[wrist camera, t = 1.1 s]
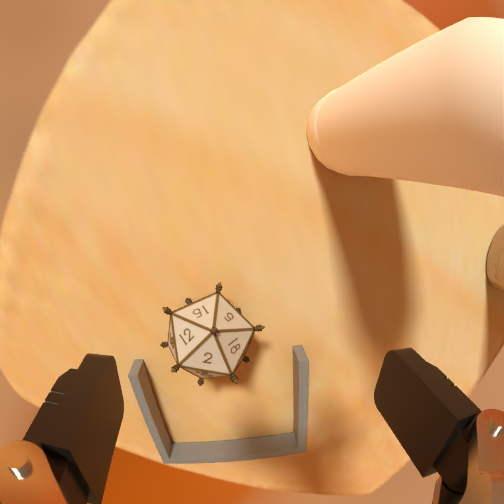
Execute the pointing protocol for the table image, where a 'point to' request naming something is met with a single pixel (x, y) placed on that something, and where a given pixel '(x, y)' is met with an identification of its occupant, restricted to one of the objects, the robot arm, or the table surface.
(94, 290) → the table surface
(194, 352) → the game die
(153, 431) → the bay
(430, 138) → the bottle
